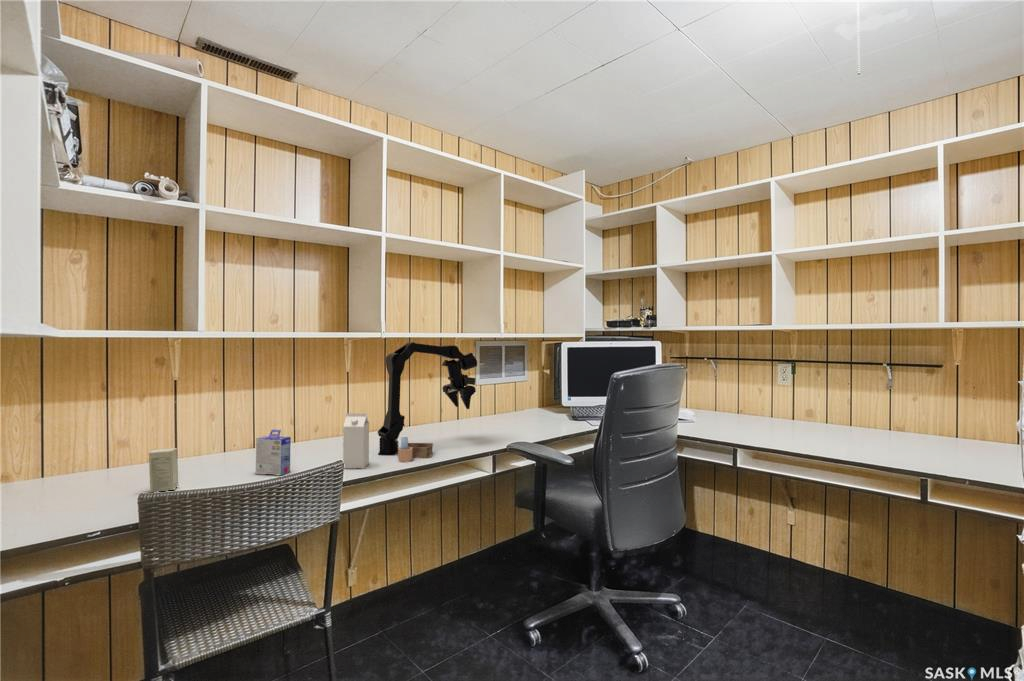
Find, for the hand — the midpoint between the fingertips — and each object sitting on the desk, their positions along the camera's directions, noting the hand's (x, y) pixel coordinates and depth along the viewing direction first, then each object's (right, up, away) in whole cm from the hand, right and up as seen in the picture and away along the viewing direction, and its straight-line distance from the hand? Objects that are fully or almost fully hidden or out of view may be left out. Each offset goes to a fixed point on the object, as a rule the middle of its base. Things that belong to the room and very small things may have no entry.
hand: (462, 407), depth 218 cm
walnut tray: (-15, -16, -23) cm, 32 cm away
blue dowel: (-18, -16, -31) cm, 39 cm away
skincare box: (-83, -16, -68) cm, 109 cm away
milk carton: (-34, -16, -39) cm, 54 cm away
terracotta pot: (-18, -16, -31) cm, 39 cm away
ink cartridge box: (-60, -16, -48) cm, 78 cm away
